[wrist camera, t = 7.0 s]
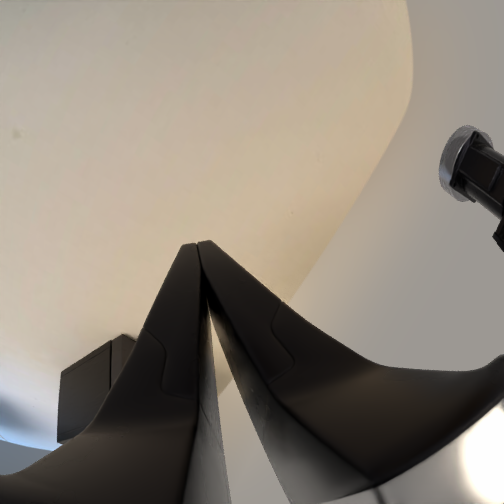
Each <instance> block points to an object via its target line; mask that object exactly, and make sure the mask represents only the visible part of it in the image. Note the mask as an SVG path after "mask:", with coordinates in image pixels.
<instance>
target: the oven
mask: <svg viewBox="0 0 504 504" xmlns="http://www.w3.org/2000/svg"><path fill="white" fill-rule="evenodd" d="M111 361H112V341H111V340H110V341H108V342H107V343H105V344H104V345H102V346H101V347H99V348H98V349H96V350H94V351H93V352H91V353H90V354H88V355H87V356H85V357H84V358H82V359H81V360H79V361H77V362H76V363H74V364H73V365H71V366H70V367H68V368H67V369H65V370H64V371H62V372H61V379H60V390H59V403H58V423H57V435H58V436H57V443H60V444H65V443H66V442H68V441H69V440H71V439H72V438H74V437H75V436H77V435H78V434H80V433H81V432H82V431H83V430H84V429H86V428H87V426H88V425H89V424H90V423H91V422H92V420H93V419H94V417H95V416H96V414H97V413H98V411H99V409H100V407H101V405H102V404H103V402H104V400H105V398H106V396H107V395H108V393H109V391H110V389H111Z"/></svg>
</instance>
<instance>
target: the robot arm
mask: <svg viewBox="0 0 504 504" xmlns="http://www.w3.org/2000/svg"><path fill="white" fill-rule="evenodd" d="M449 186H450V187H451V188H452V189H454V190H455V191H457V192H459V193H460V194H462V195H463V196H465V197H466V198H468V199H469V200H471V201H472V202H474V203H475V202H476V201H477V202H479V203H480V204H481V205H482V206H484V207H485V208H486V209H487V210H489V211H490V212H491V213H493V214H494V215H495V216H496V217H497V218H498V219H500V220H501V221H500V223H499V225H498V227H497V230H496V232H494V234H493V236H492V237H493V238H494V240H495V241H496V242H497V244H498V246H499V247H500V248H501V250H502V251H503V252H504V156H503V155H502V154H500V153H499V152H497V151H495V150H494V149H493V148H492V146H491V145H490V144H489V143H488V142H487V141H486V139H485V138H484V137H483V136H482V135H481V134H480V133H479V132H478V131H476V130H474V131H473V133H472V135H471V137H470V140H469V142H468V144H467V146H466V149H465V151H464V153H463V155H462V157H461V159H460V162H459V164H458V166H457V168H456V170H455V172H454V174H453V176H452V178H451V180H450V182H449ZM208 308H209V309H208ZM209 312H210V314H209ZM210 316H211V319H212V322H213V325H214V327H215V330H216V333H217V336H218V338H219V341H220V344H221V346H222V349H223V351H224V354H225V357H226V359H227V362H228V364H229V367H230V369H231V372H232V375H233V377H234V380H235V382H236V384H237V387H238V389H239V392H240V394H241V397H242V399H243V402H244V404H245V406H246V409H247V411H248V413H249V416H250V418H251V420H252V423H253V425H254V427H255V429H256V432H257V434H258V436H259V439H260V441H261V443H262V445H263V447H264V450H265V452H266V454H267V456H268V459H269V461H270V463H271V465H272V467H273V469H274V471H275V473H276V476H277V478H278V480H279V482H280V484H281V486H282V488H283V490H284V492H285V494H286V496H287V498H288V500H289V502H290V504H504V354H502V355H499V356H498V357H497V358H495V359H494V360H493V361H492V362H490V363H489V364H488V365H486V366H484V367H482V368H479V369H476V370H470V371H439V370H422V369H409V368H397V367H388V366H384V365H380V364H377V363H374V362H372V361H370V360H368V359H366V358H364V357H362V356H361V355H359V354H357V353H356V352H354V351H353V350H351V349H350V348H348V347H346V346H345V345H343V344H342V343H340V342H338V341H337V340H335V339H334V338H332V337H331V336H329V335H327V334H326V333H324V332H323V331H321V330H320V329H318V328H317V327H315V326H314V325H312V324H311V323H310V322H308V321H307V320H305V319H304V318H303V317H301V316H300V315H299V314H298V313H296V312H295V311H294V310H293V309H291V308H290V307H289V306H288V305H287V304H285V303H284V302H281V299H279V298H278V297H277V296H276V295H275V294H273V293H272V292H271V291H270V290H269V289H268V288H266V287H265V286H264V285H263V284H262V283H260V282H259V281H258V280H257V279H256V278H255V277H253V276H252V275H251V274H250V273H249V272H248V271H246V270H245V269H244V268H243V267H242V266H240V265H239V264H238V263H237V262H236V261H235V260H233V259H232V258H231V257H230V256H229V255H228V254H227V253H225V252H224V251H223V250H222V249H221V248H220V247H218V246H217V245H216V244H215V243H214V242H213V241H211V240H207V241H201V242H198V243H197V244H196V243H190V244H184V245H182V246H181V248H180V250H179V252H178V254H177V256H176V258H175V260H174V262H173V264H172V266H171V268H170V270H169V272H168V274H167V276H166V278H165V280H164V282H163V284H162V286H161V289H160V291H159V293H158V295H157V297H156V299H155V301H154V303H153V306H152V308H151V310H150V312H149V314H148V316H147V319H146V321H145V323H144V325H143V328H142V329H141V332H140V334H139V336H138V339H137V341H136V343H135V345H134V347H133V349H132V351H131V353H130V356H129V357H128V359H127V361H126V363H125V365H124V366H123V368H122V370H121V372H120V374H119V375H118V377H117V379H116V381H115V382H114V384H113V386H112V388H111V389H110V391H109V393H108V395H107V396H106V398H105V400H104V402H103V404H102V405H101V407H100V409H99V411H98V413H97V414H96V416H95V417H94V419H93V420H92V422H91V423H90V424H89V425H88V426H87V428H86V429H84V430H83V431H82V432H81V433H80V434H78V435H77V436H75V437H74V438H72V439H71V440H69V441H68V442H66V443H65V444H63V445H62V446H60V447H59V448H57V449H56V450H54V451H52V452H51V453H50V454H48V455H46V456H45V457H43V458H42V459H40V460H38V461H37V462H35V463H33V464H32V465H30V466H29V467H27V468H25V469H23V470H21V471H19V472H16V473H13V474H9V475H0V504H231V497H230V491H229V485H228V478H227V471H226V464H225V456H224V449H223V441H222V433H221V425H220V417H219V408H218V399H217V389H216V379H215V369H214V358H213V347H212V335H211V322H210Z"/></svg>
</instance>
